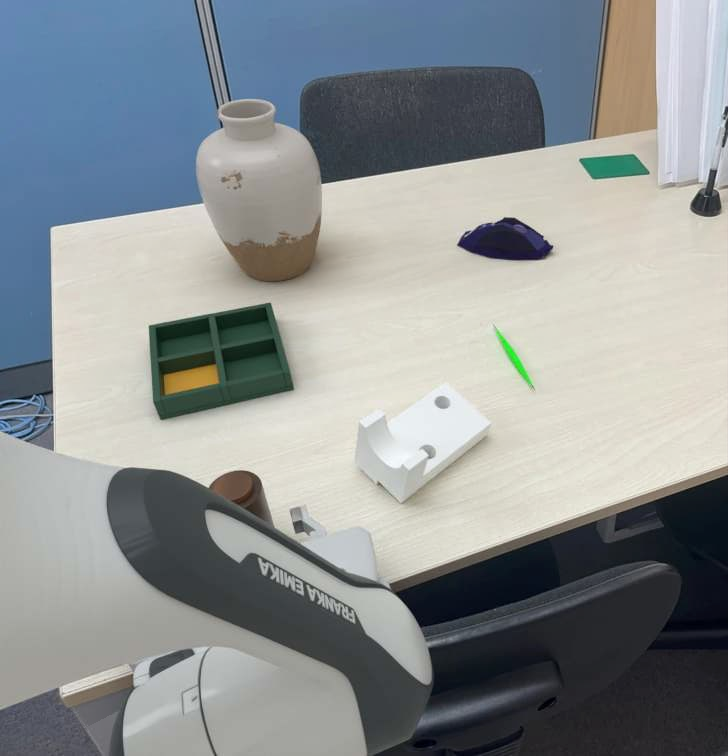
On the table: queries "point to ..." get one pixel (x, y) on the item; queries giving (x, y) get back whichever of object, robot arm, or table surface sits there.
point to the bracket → (418, 440)
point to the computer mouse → (506, 241)
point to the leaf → (514, 357)
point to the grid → (217, 360)
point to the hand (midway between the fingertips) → (244, 525)
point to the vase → (261, 190)
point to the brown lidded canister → (244, 492)
